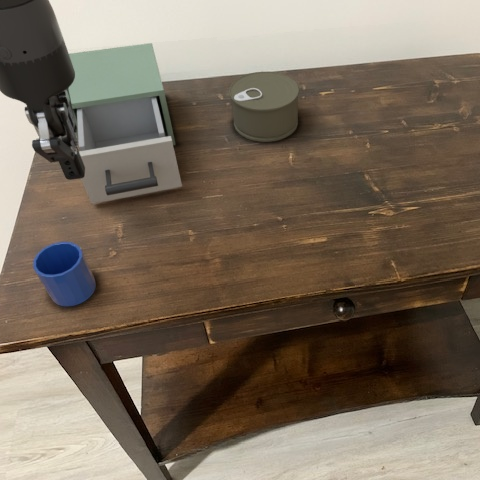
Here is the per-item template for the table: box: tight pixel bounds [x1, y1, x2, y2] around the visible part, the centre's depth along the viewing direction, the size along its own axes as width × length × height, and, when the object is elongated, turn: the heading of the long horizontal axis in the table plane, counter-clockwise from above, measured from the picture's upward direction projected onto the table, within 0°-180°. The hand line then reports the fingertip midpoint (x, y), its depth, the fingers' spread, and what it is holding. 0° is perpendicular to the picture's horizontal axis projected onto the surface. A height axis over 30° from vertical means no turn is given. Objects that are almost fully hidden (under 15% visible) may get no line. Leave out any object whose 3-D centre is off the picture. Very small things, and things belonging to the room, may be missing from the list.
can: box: [228, 71, 300, 143], centre depth 94 cm, size 12×12×7 cm
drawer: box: [77, 96, 183, 205], centre depth 81 cm, size 20×14×9 cm
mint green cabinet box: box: [69, 42, 176, 146], centre depth 91 cm, size 16×15×11 cm
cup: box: [32, 241, 97, 307], centre depth 68 cm, size 6×6×6 cm
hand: (76, 174), depth 65 cm, fingers closed
